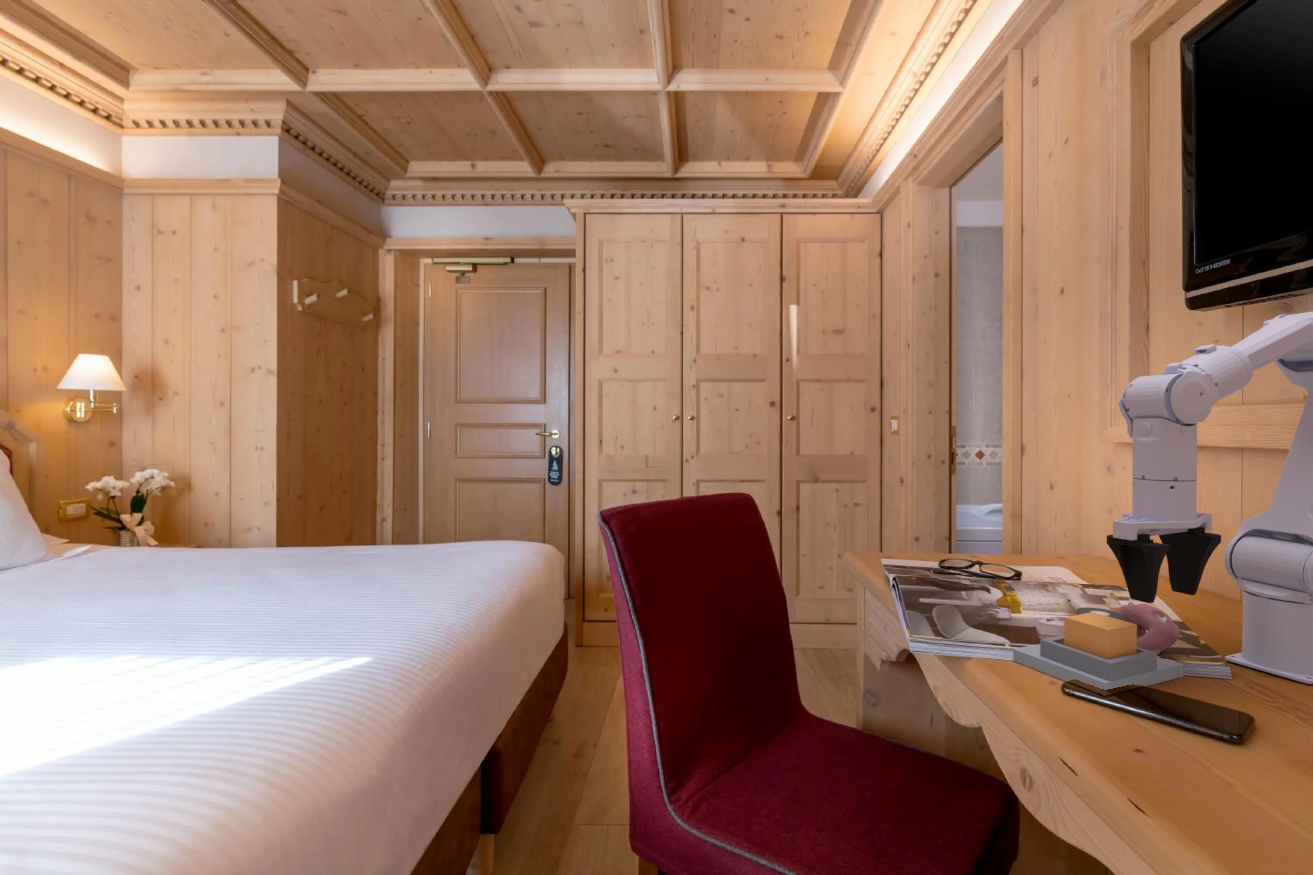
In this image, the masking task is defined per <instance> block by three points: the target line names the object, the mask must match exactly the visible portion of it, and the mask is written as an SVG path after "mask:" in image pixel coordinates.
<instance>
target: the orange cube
mask: <svg viewBox="0 0 1313 875" xmlns="http://www.w3.org/2000/svg"><path fill="white" fill-rule="evenodd" d="M1063 625H1064V626H1063V627H1064V629H1063V632H1064V633H1063V635H1064V645H1065V646H1068V647H1071V648H1074V649H1077V650H1080V651H1083V652H1086V653H1089V654H1092V655H1095V656H1098V657H1101V658H1104V659H1107V660H1109V659H1114V658H1118V657H1123V656H1127V655H1132V654H1136V653H1137V624H1133V623H1130V622H1126V621H1122V620H1119V619H1115V618H1112V617H1108V616H1104V615H1101V614H1097V613H1093V612H1091V613H1085V614H1079V615H1076V614H1075V615H1069V616H1064V624H1063Z"/></svg>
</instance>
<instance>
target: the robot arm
mask: <svg viewBox="0 0 1313 875" xmlns="http://www.w3.org/2000/svg"><path fill="white" fill-rule="evenodd" d="M1193 351H1194V355H1193V356H1189V358H1186V359H1184V360H1182V361H1180V362H1170V363H1168V364H1167V365H1165V366H1164V370H1163V371H1160V372H1159V373H1158V374H1155V375H1143V376H1139V377H1136V378H1135V379H1134V380H1133V381H1131V382H1130V383H1129V384H1127V386H1126V387H1125V388H1124V391H1123V392H1122V395H1121V399H1119V400H1118V406H1119V411H1120V413H1121V415H1122V417H1123V418H1124V420H1125V421H1126V428H1127V434H1129V435H1128V436H1129V438H1130V439H1132V465H1131V466H1132V467H1131V468H1132V471H1131V472H1132V474H1131V475H1132V476H1131V477H1132V479H1131V480H1132V484H1131V485H1132V486H1131V487H1132V495H1131V496H1132V502H1131V503H1132V505H1131V506H1132V510H1131V511H1132V512H1130V511H1129V512H1123V513H1122V518H1121V519H1116V520H1115V519H1114V520H1113V521H1112V534H1107V535H1106V544H1107V546H1108V547H1109V548H1110V550H1111V551H1112V553H1113V554H1114V556H1115V559H1116V560H1117V562H1118V564H1119V566H1120V569H1121V572H1122V574H1123V577H1124V581H1125V585H1126V589H1127V591H1128V594H1129V598H1130V599H1131V600H1133V601H1134V600H1135V601H1139V602H1143V603H1147V604H1153V603H1154V602H1155V600H1156V596H1157V591H1158V584H1159V577H1160V571H1161V568H1162V564H1163V562H1164V559H1165V557H1166V561H1167V568H1168V579H1169V583H1170V584H1169V585H1170V588H1171V591H1172V592H1174V593H1180V594H1184V595H1190V596H1195V595H1197V592H1198V589H1199V586H1200V582H1201V580H1202V577H1203V574H1204V572H1205V568H1206V566H1207V564H1208V561H1209V559H1210V558H1211V556H1212V555H1213V552H1215V550H1216V549H1217V547H1218V546H1219V545H1220V544H1221V543H1222V534H1219V533H1212V532H1208V531H1212V530H1213V527H1212V525H1213V524H1212V522H1213V514H1211V513H1205V512H1204V513H1203V512H1197V510H1198V509H1197V508H1198V507H1197V503H1198V502H1197V500H1198V498H1197V495H1198V494H1197V492H1198V491H1197V490H1198V481H1197V480H1198V478H1197V475H1198V472H1197V471H1198V423H1201V422H1204V421H1205V420H1206V419H1207V418H1208V417H1209V415H1210V413H1211V411H1212V408H1213V407H1214V405H1215V404H1217V403H1218V402H1219V401H1222V400H1223V399H1225V398H1226V397H1228V396H1230V395H1232V394H1234V393H1236V392H1237V391H1239V390H1242V389H1243V388H1245V387H1246V386H1248V385H1249V384H1250V382H1251V381H1252V379H1253V376H1254V371H1256V370H1258V369H1261V368H1263V367H1265V366H1267V365H1270V364H1272V363H1274V364H1275V365H1276V366H1277V367H1278V369H1279V370H1280V371H1281V372H1282V373H1283V374H1284V376H1285V378H1287V380H1288V381H1289V382H1290V383H1291V384H1292V385H1295V386H1297V387H1301V388H1304V389H1305V390H1306V392H1307V398H1306V400H1305V403H1304V406H1303V409H1302V413H1301V416H1300V417H1299V421H1298V424H1297V428H1295V429H1296V430H1295V432H1294V435H1293V439H1292V442H1291V444H1290V447H1289V450H1288V453H1287V456H1286V459H1285V462H1284V466H1283V468H1282V471H1281V473H1280V477H1279V480H1278V482H1277V486H1276V488H1275V491H1274V494H1273V497H1272V501H1270V502H1271V503H1270V507H1269V508H1268V509H1266V510H1265V511H1263V512H1261V513H1258V514H1256V515H1253V516H1251V517H1249V518H1246V519H1244V520H1242V521H1241V524H1240V527H1239V529H1238V531H1237V533H1236V534H1235V536H1234V537H1232V539H1231V540H1230V542H1228V544H1227V546H1226V547H1225V550H1224V553H1223V554H1224V555H1223V562H1224V567H1225V569H1226V572H1227V573H1228V575H1229V576H1230V578H1232V579H1233V580H1234V581H1236V588H1237V589H1241V590H1242V634H1241V635H1242V640H1241V641H1242V646H1241V648H1242V650H1241V652H1238V653H1233V654H1229V655H1226V656H1224V660H1225V661H1228V662H1230V663H1235V664H1238V665H1241V666H1244V667H1248V668H1252V669H1254V670H1255V669H1256V670H1258V671H1262V672H1266V673H1269V674H1272V675H1275V676H1279V677H1283V678H1287V679H1290V680H1293V681H1296V682H1301V683H1303V684H1308V685H1309V684H1310V685H1312V684H1313V311H1308V312H1300V313H1294V314H1293V313H1288V314H1279V315H1277V316H1275V317H1274V318H1271V319H1269V320H1268V319H1267V320H1265V321H1264V322H1263V324H1262V327H1261V328H1260V329H1258V330H1257V331H1255V332H1253V333H1252V334H1250V335H1248V336H1247V337H1245V338H1243V339H1241V340H1240V341H1239V342H1237V343H1235V344H1234V345H1231V346H1228V345H1216V344H1204V345H1200V346H1199V347H1196V348H1195V349H1194V350H1193ZM1206 531H1207V532H1206ZM1154 536H1155V537H1156V536H1158V538H1159V540H1160V541H1161V542H1154V539H1153V538H1152V539H1151V537H1154Z"/></svg>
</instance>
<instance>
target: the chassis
mask: <svg viewBox="0 0 1313 875" xmlns="http://www.w3.org/2000/svg"><path fill="white" fill-rule="evenodd" d="M1039 640H1040V641H1039V644H1038V643H1037V644H1032V645H1028V646H1022V647H1017V648H1013V650H1012V652H1013V653H1012V654H1013V655H1012V656H1013V657H1012V660H1013V662H1015V663H1017V664H1021V665H1022V666H1024V667H1027V668H1030V669H1033V670H1036V671H1038V672H1041V673H1043V674H1046V675H1048V676H1051V677H1054V678H1055V679H1059V680H1060V681H1063V682H1066V683H1068V681H1070V680H1073V679H1074V680H1075V679H1076V680H1079V681H1081V682H1084V683H1086V684H1089V685H1093V686H1095V687H1098V688H1100V689H1104V690H1108V689H1113V688H1117V687H1122V686H1126V685H1132V684H1134V685H1146V686H1145V687H1149V686H1153V685H1157V684H1162V683H1165V682H1168V681H1171V680H1172V681H1173V680H1177V679H1181V678H1184V677H1185V676H1184V675H1185V674H1184V672H1185V671H1184V669H1185V667H1184V666H1185V664H1184V663H1182V662H1178V661H1175V660H1172V659H1169V658H1166V659H1163V658H1164V657H1163V658H1158V657H1157V656H1158V655H1157V653H1156V652H1152V651H1149V650H1146V649H1142V648H1139V647H1137V653H1136V654H1132V655H1127V656H1123V657H1118V658H1114V659H1109V660H1107V659H1104V658H1101V657H1098V656H1095V655H1092V654H1089V653H1086V652H1083V651H1080V650H1077V649H1074V648H1071V647H1068V646H1065V645H1064V634H1062V635H1058V636H1051V637H1047V638H1043V639H1039Z"/></svg>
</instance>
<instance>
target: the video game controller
mask: <svg viewBox="0 0 1313 875" xmlns="http://www.w3.org/2000/svg"><path fill="white" fill-rule="evenodd" d="M1115 612H1118V613H1120V614H1122V615H1124V617H1125V621H1126V622H1130V623H1133V624H1137V636H1142V637H1140V638H1139V639H1137V647H1139V648H1142V649H1146V650H1147V649H1148V650H1155V649H1156V650H1158V649H1159V650H1162V649H1165V650H1167V649H1168V648H1170V647H1172V646H1173V645H1175V644H1176V643H1177V641H1178V639H1179V637H1180V628H1179V625H1178V624H1176V623H1174V621H1173V620H1172V619H1171V617H1170V616H1169V615H1168V613H1167V614H1166V613H1165V612H1164V611H1162V610H1161V609H1159V608H1157V607H1155V606H1151V605H1149V604H1145V603H1136V604H1135V603H1134V602H1133V601H1129V602H1128V603H1127V604H1124V605H1121V606H1120V607H1119V608H1117V610H1115ZM1166 648H1167V649H1166Z"/></svg>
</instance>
